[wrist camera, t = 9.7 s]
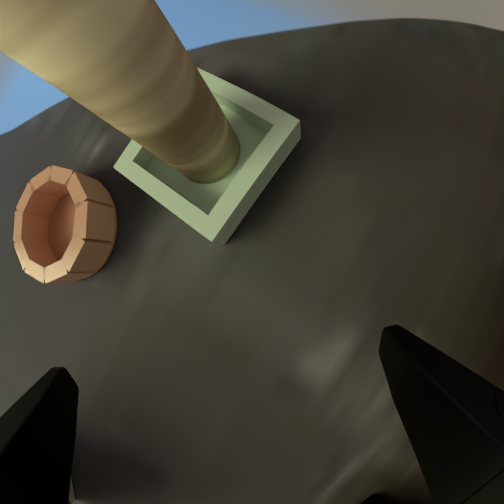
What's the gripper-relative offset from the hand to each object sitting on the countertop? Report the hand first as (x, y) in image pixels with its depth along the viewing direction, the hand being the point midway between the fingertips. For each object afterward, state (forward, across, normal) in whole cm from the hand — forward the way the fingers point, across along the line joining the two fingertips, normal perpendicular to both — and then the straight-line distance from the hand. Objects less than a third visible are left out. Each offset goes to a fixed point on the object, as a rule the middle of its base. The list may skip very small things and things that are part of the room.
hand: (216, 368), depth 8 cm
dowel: (+14, 0, -3) cm, 14 cm away
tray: (+15, 0, -2) cm, 15 cm away
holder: (+15, +11, +1) cm, 18 cm away
